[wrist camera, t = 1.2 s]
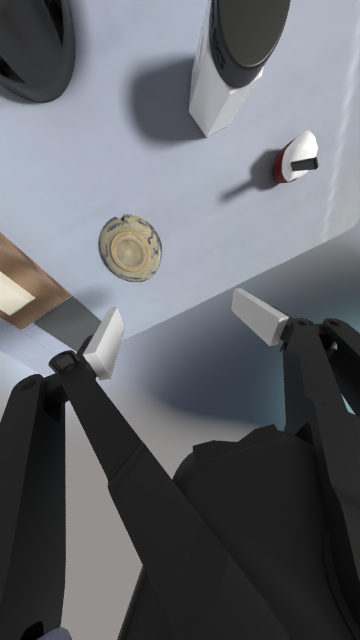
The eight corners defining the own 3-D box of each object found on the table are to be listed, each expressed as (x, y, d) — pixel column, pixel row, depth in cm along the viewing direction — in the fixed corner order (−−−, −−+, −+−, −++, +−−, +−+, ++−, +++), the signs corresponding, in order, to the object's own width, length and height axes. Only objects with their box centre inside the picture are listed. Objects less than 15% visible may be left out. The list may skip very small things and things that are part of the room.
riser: (-72, 252, 27) (-104, 254, 24) (-25, 210, 26) (-53, 205, 22) (33, 321, 38) (21, 329, 34) (71, 294, 36) (62, 300, 33)
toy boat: (298, 139, 29) (383, 78, 18) (297, 178, 32) (369, 144, 21) (257, 161, 29) (318, 113, 19) (260, 197, 32) (314, 172, 22)
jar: (193, 40, 21) (232, -149, 11) (240, 62, 22) (313, -82, 12) (185, 131, 25) (207, 58, 15) (225, 144, 27) (269, 86, 17)
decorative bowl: (128, 291, 39) (173, 263, 37) (126, 296, 36) (175, 265, 34) (84, 238, 31) (138, 198, 29) (76, 238, 28) (136, 193, 26)
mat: (35, 322, 38) (34, 323, 38) (73, 296, 36) (72, 296, 36) (78, 351, 45) (78, 352, 45) (112, 331, 43) (112, 331, 43)
